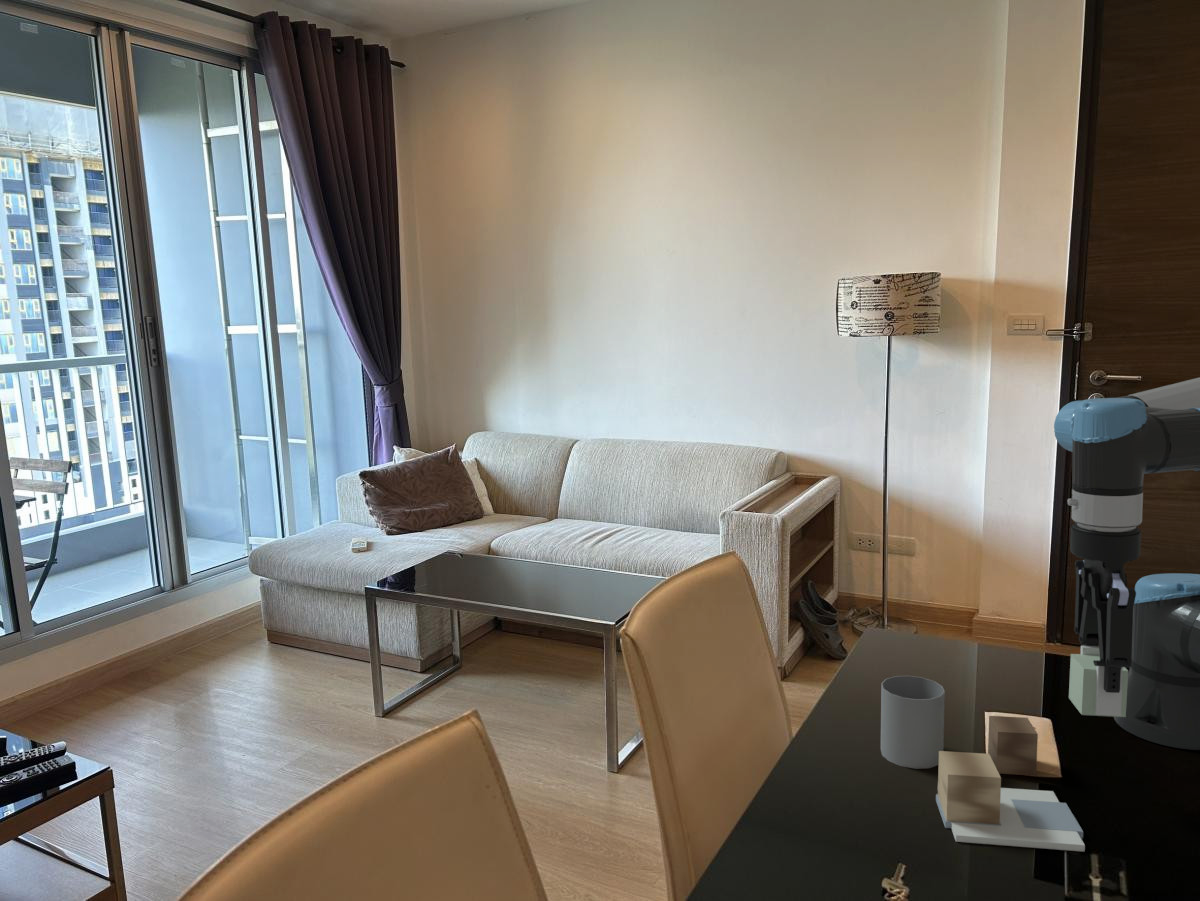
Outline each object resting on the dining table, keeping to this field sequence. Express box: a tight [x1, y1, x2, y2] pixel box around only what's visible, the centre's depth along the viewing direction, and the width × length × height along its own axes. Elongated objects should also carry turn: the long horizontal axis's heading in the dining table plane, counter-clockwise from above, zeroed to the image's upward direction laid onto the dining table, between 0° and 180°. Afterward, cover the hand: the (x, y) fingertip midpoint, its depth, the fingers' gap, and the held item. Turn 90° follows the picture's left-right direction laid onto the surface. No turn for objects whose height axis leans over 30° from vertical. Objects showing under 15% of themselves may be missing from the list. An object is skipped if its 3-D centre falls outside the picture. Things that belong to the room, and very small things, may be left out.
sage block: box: [1068, 653, 1129, 718], centre depth 111 cm, size 5×5×6 cm
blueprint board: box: [935, 787, 1086, 853], centre depth 108 cm, size 15×12×1 cm
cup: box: [880, 675, 946, 770], centre depth 125 cm, size 8×8×10 cm
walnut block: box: [987, 715, 1039, 777], centre depth 121 cm, size 5×5×6 cm
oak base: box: [937, 750, 1002, 825], centre depth 109 cm, size 6×6×6 cm
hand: (1099, 703), depth 111 cm, fingers closed on sage block, 5 cm apart
